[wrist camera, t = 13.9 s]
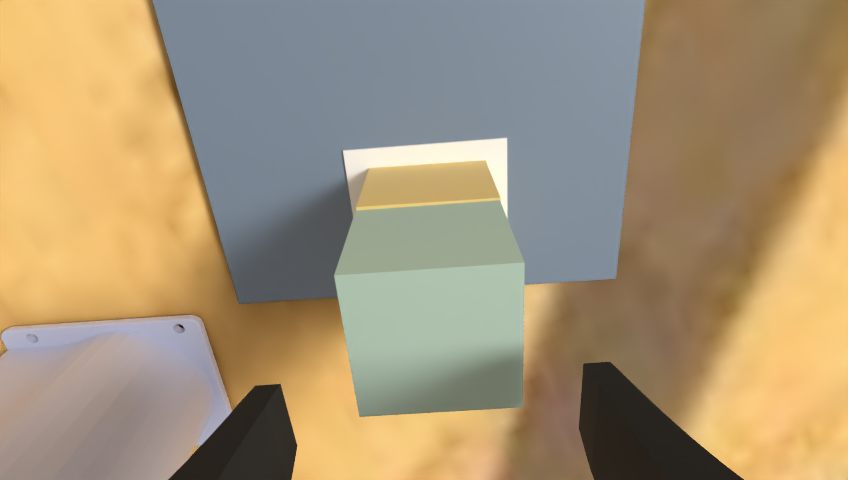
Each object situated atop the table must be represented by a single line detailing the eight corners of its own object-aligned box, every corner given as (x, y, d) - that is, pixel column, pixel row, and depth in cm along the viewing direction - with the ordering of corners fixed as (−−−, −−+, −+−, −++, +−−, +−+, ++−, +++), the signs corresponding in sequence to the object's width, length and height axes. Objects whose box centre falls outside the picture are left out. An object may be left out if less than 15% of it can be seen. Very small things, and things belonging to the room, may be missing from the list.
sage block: (373, 328, 18) (359, 416, 14) (355, 210, 16) (334, 275, 12) (501, 320, 17) (522, 407, 14) (500, 199, 15) (524, 262, 12)
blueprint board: (241, 299, 23) (238, 304, 22) (112, -161, 15) (103, -166, 15) (612, 274, 22) (616, 279, 22) (662, -216, 15) (670, -224, 14)
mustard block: (381, 269, 21) (372, 325, 18) (369, 167, 19) (356, 207, 16) (486, 262, 21) (500, 318, 17) (485, 160, 19) (500, 197, 15)
